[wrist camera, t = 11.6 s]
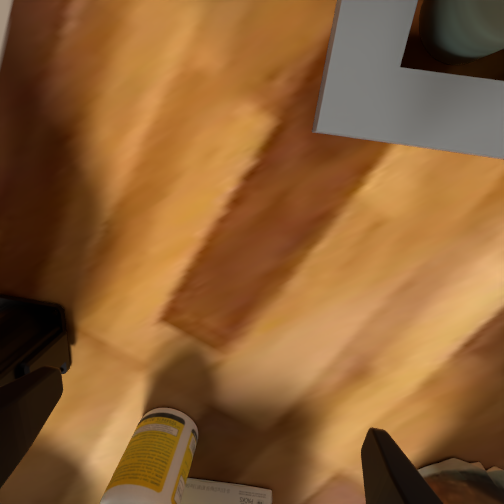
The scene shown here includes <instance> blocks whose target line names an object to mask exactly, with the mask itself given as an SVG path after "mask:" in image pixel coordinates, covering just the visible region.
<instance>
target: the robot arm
mask: <svg viewBox="0 0 504 504" xmlns="http://www.w3.org/2000/svg"><path fill="white" fill-rule="evenodd" d="M55 310H56V311H57V312H56V311H55ZM69 369H70V363H69V351H68V340H67V333H66V323H65V313H64V309H63V307H62V306H60V305H58V304H53V303H47V302H41V301H35V300H29V299H24V298H18V297H12V296H6V295H0V488H1V487H2V486H3V484H4V483H5V481H6V480H7V479H8V477H9V476H10V475H11V473H12V472H13V471H14V469H15V468H16V466H17V465H18V464H19V462H20V461H21V460H22V458H23V457H24V455H25V454H26V453H27V451H28V450H29V448H30V447H31V445H32V443H33V442H34V440H35V439H36V437H37V435H38V434H39V432H40V430H41V429H42V427H43V425H44V424H45V422H46V421H47V419H48V417H49V416H50V414H51V412H52V411H53V409H54V407H55V406H56V404H57V403H58V401H59V399H60V397H61V395H62V392H63V384H62V375H61V374H65V373H66V372H67V371H68V370H69ZM361 460H362V469H363V479H364V489H365V498H366V504H444V503H443V502H442V501H441V499H440V498H439V497H438V495H437V494H436V493H435V492H434V490H433V489H432V488H431V487H430V485H429V484H428V483H427V482H426V480H425V479H424V478H423V477H422V475H421V474H420V473H419V472H418V470H417V469H416V468H415V467H414V465H413V464H412V463H411V461H410V460H409V459H408V458H407V456H406V455H405V454H404V453H403V451H402V450H401V449H400V448H399V446H398V445H397V444H396V443H395V441H394V440H393V439H392V438H391V436H390V435H389V434H388V433H387V432H386V431H385V430H383V429H378V428H373V427H372V428H370V429H369V430H368V432H367V435H366V437H365V440H364V443H363V445H362V449H361Z"/></svg>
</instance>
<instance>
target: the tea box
mask: <svg viewBox="0 0 504 504" xmlns="http://www.w3.org/2000/svg"><path fill="white" fill-rule="evenodd" d="M180 504H272V491H271V490H269V489H264V488H258V487H252V486H246V485H239V484H231V483H224V482H216V481H208V480H200V479H193V478H187V481H186V484H185V488H184V492H183V495H182V499H181V502H180Z"/></svg>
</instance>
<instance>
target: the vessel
mask: <svg viewBox="0 0 504 504" xmlns="http://www.w3.org/2000/svg"><path fill="white" fill-rule="evenodd" d="M418 472H419V473H420V474H421V475H422V477H423V478H424V479H425V480H426V482H427V483H428V484H429V485H430V487H431V488H432V489H433V490H434V492H435V493H436V494H437V495H438V497H439V498H440V499H441V501H442V502H443V503H444V504H504V470H502V469H500V468H498V467H496V466H494V467H492V468H490V469H488V470H485V469H484V467H483V466H482V464H481V463H480V462H475V463H467V462H465V461H462V460H459V459H456V458H451V459H448V460H446V461H443V462H440V463H437V464H433V465H429V466H426V467H424V468H421V469H419V470H418Z"/></svg>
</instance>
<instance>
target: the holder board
mask: <svg viewBox="0 0 504 504" xmlns="http://www.w3.org/2000/svg"><path fill="white" fill-rule="evenodd" d="M417 1H418V0H337V3H336V8H335V14H334V19H333V24H332V29H331V35H330V40H329V45H328V50H327V56H326V61H325V66H324V71H323V77H322V82H321V87H320V92H319V98H318V103H317V108H316V113H315V119H314V124H313V129H312V132H316V133H323V134H330V135H337V136H344V137H351V138H358V139H365V140H372V141H379V142H386V143H393V144H400V145H407V146H414V147H421V148H428V149H435V150H442V151H449V152H456V153H463V154H470V155H477V156H484V157H491V158H498V159H504V81H500V80H492V79H485V78H477V77H470V76H462V75H455V74H447V73H440V72H432V71H425V70H417V69H409V68H402V67H400V65H401V61H402V58H403V54H404V50H405V46H406V43H407V39H408V35H409V31H410V28H411V24H412V20H413V16H414V13H415V9H416V5H417Z"/></svg>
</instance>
